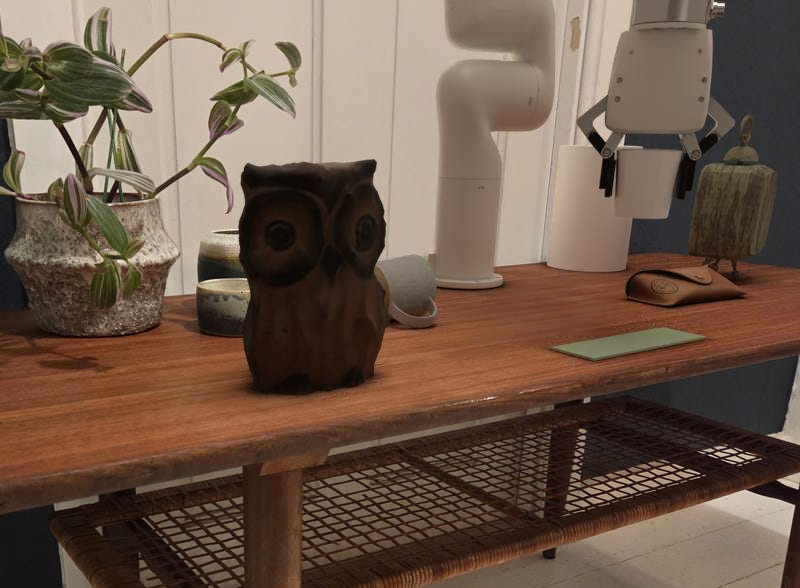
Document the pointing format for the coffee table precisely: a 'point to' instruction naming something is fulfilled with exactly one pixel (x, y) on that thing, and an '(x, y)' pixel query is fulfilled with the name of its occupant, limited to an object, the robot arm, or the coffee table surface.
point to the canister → (586, 215)
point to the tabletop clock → (732, 207)
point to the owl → (312, 275)
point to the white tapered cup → (645, 182)
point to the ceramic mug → (408, 289)
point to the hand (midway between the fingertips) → (643, 196)
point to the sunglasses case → (680, 286)
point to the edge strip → (627, 343)
